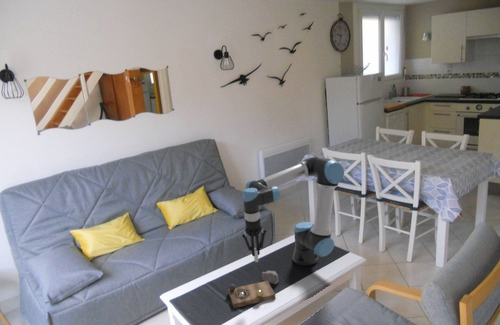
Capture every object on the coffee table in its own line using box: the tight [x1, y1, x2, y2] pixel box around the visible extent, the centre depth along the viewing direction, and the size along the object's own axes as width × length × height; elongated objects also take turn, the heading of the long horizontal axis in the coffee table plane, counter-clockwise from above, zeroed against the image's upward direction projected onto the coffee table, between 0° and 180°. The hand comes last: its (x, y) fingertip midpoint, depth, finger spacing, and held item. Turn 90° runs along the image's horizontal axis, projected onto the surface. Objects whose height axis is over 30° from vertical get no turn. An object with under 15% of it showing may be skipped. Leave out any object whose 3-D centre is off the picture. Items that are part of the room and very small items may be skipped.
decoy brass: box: [256, 290, 263, 297], centre depth 194 cm, size 4×4×4 cm
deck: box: [228, 280, 276, 309], centre depth 199 cm, size 22×13×2 cm, turn 104°
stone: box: [261, 270, 280, 285], centre depth 211 cm, size 10×8×6 cm
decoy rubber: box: [228, 283, 237, 291], centre depth 201 cm, size 4×4×4 cm
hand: (256, 260), depth 195 cm, fingers closed
